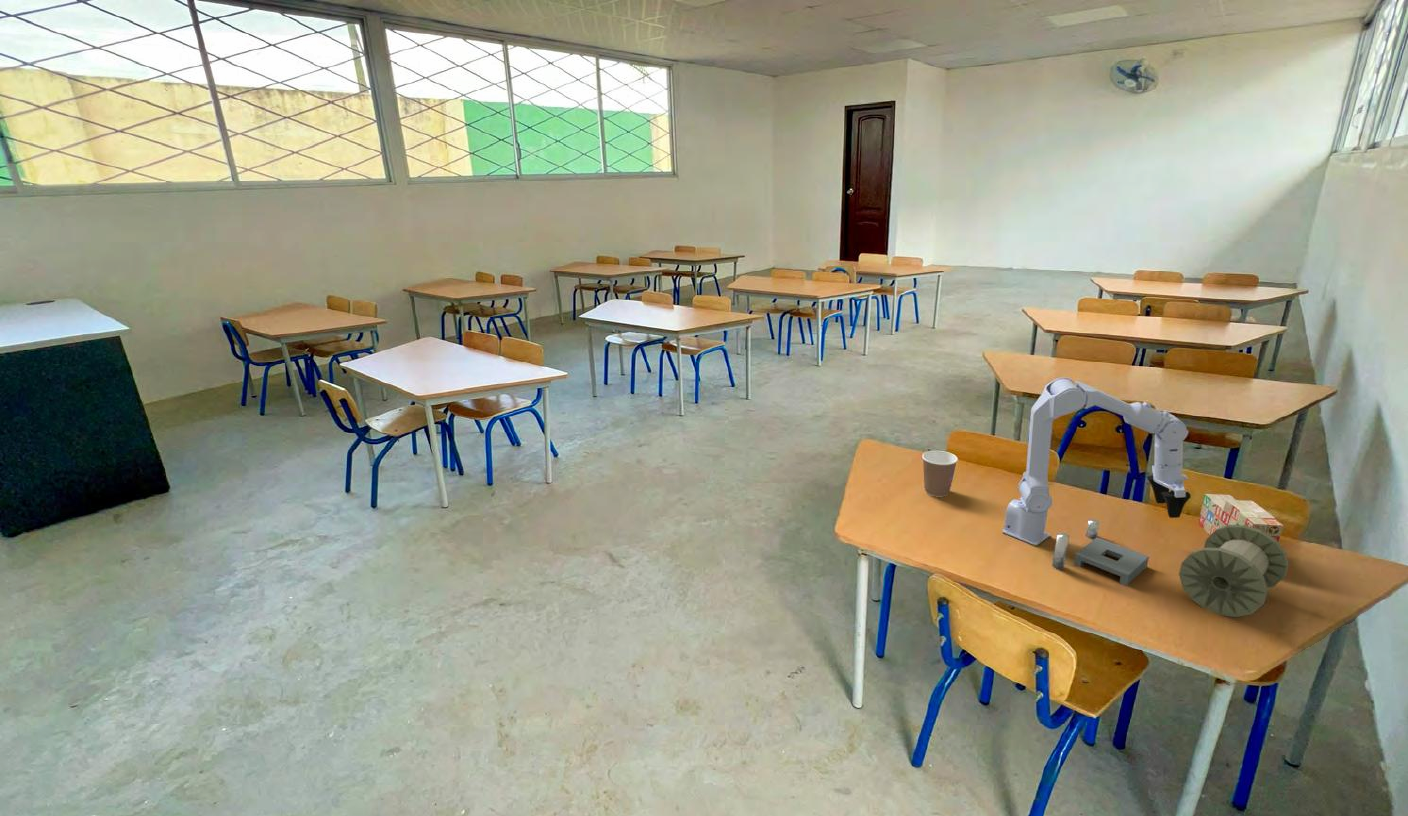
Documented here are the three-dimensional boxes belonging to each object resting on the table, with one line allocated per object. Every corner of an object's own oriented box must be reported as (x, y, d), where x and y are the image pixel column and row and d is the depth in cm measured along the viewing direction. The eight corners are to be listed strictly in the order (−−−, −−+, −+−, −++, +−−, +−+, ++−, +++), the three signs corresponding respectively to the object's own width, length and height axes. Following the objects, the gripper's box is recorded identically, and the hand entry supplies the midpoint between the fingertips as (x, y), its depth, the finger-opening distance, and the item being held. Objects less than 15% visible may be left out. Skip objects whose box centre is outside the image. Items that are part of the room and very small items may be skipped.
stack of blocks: (1196, 523, 177) (1206, 483, 173) (1222, 524, 176) (1233, 484, 172) (1241, 567, 157) (1254, 523, 153) (1271, 569, 156) (1284, 524, 152)
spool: (1200, 569, 157) (1213, 515, 152) (1278, 598, 146) (1296, 541, 141) (1173, 596, 148) (1187, 539, 143) (1254, 629, 136) (1273, 568, 131)
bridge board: (1073, 564, 161) (1075, 553, 160) (1094, 547, 168) (1096, 537, 167) (1126, 585, 152) (1128, 575, 151) (1146, 566, 159) (1149, 556, 158)
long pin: (1050, 566, 161) (1055, 535, 158) (1055, 562, 162) (1060, 531, 159) (1060, 571, 159) (1066, 539, 156) (1065, 567, 160) (1071, 535, 157)
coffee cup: (959, 499, 195) (963, 463, 191) (925, 500, 195) (928, 464, 191) (947, 484, 205) (950, 449, 201) (915, 485, 205) (917, 451, 201)
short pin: (1084, 535, 173) (1086, 521, 172) (1088, 532, 175) (1091, 518, 173) (1094, 539, 171) (1097, 524, 170) (1098, 536, 173) (1101, 521, 171)
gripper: (1200, 472, 152) (1199, 522, 156) (1174, 448, 165) (1173, 495, 169) (1166, 475, 154) (1165, 524, 158) (1142, 451, 167) (1142, 497, 171)
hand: (1167, 509), depth 164 cm, fingers open, 7 cm apart
